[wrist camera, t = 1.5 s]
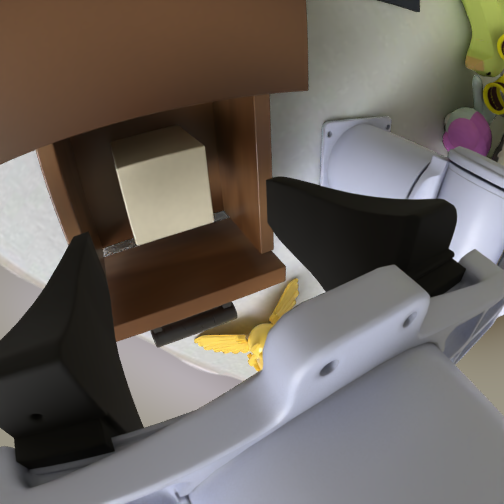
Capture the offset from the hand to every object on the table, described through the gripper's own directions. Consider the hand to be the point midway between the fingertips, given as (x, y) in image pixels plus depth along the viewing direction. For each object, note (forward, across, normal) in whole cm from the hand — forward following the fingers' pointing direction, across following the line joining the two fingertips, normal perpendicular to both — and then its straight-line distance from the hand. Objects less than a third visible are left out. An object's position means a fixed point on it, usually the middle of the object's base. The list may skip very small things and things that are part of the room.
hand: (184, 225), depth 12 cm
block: (+8, 0, 0) cm, 8 cm away
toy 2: (+7, -42, -4) cm, 43 cm away
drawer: (+9, 0, +2) cm, 9 cm away
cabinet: (+10, 0, -12) cm, 15 cm away
